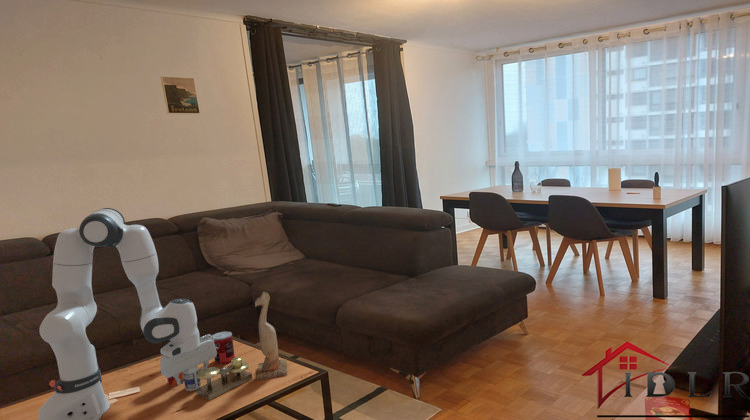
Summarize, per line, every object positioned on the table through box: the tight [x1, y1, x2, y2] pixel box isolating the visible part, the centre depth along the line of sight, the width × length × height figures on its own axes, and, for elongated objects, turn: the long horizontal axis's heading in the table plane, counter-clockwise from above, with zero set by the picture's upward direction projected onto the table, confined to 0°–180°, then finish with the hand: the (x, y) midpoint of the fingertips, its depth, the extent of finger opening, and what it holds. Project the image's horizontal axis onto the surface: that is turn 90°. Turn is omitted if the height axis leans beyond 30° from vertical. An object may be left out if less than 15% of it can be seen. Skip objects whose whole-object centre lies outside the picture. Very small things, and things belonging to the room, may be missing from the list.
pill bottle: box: [183, 365, 202, 392], centre depth 177 cm, size 5×5×10 cm
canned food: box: [212, 331, 236, 365], centre depth 199 cm, size 8×8×11 cm
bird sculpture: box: [254, 291, 288, 381], centre depth 184 cm, size 11×12×32 cm
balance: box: [195, 356, 253, 401], centre depth 176 cm, size 20×8×8 cm, turn 140°
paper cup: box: [161, 354, 184, 387], centre depth 183 cm, size 8×8×14 cm
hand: (192, 378), depth 177 cm, fingers open, 8 cm apart
